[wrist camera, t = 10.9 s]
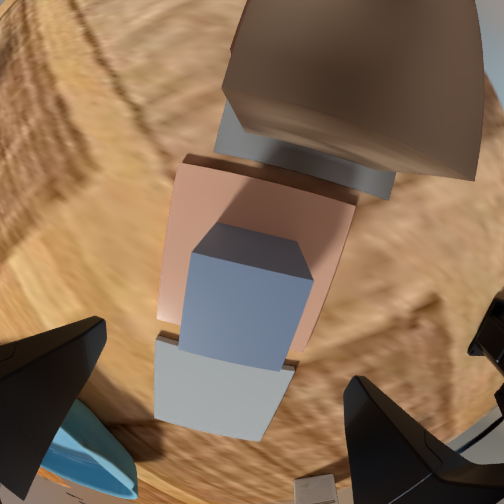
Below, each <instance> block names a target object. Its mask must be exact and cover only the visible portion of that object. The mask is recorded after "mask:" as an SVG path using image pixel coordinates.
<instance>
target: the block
mask: <svg viewBox="0 0 504 504" xmlns="http://www.w3.org/2000/svg"><path fill="white" fill-rule="evenodd" d="M313 283H314V279H313V277H312V275H311V272H310V270H309V268H308V265H307V263H306V261H305V258H304V256H303V254H302V252H301V249H300V247H299V245H298V242H297V241H294V240H290V239H285V238H281V237H277V236H273V235H269V234H265V233H261V232H256V231H252V230H248V229H244V228H240V227H235V226H231V225H227V224H222V223H218V222H216V223H215V224H214V225H213V227H212V228H211V229H210V230H209V231H208V233H207V234H206V235H205V236H204V237H203V239H202V240H201V241H200V242H199V243H198V245H197V246H196V247H195V248H194V250H193V251H192V252H191V257H190V263H189V270H188V276H187V283H186V290H185V297H184V304H183V311H182V319H181V327H180V336H179V345H178V350H182V351H185V352H189V353H193V354H197V355H201V356H205V357H209V358H213V359H217V360H221V361H226V362H230V363H235V364H240V365H245V366H250V367H255V368H260V369H266V370H271V371H277V372H280V370H281V368H282V365H283V363H284V361H285V358H286V356H287V353H288V351H289V348H290V346H291V343H292V340H293V338H294V335H295V333H296V330H297V327H298V325H299V322H300V319H301V317H302V314H303V311H304V308H305V306H306V303H307V300H308V297H309V294H310V291H311V289H312V286H313Z"/></svg>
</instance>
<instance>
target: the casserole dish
mask: <svg viewBox="0 0 504 504" xmlns="http://www.w3.org/2000/svg"><path fill="white" fill-rule="evenodd" d="M40 466H41V467H43V468H44V469H46V470H48V471H50V472H52V473H55V474H57V475H59V476H61V477H64V478H66V479H68V480H70V481H73V482H75V483H78V484H80V485H83V486H86V487H88V488H91V489H94V490H97V491H100V492H103V493H106V494H109V495H113V496H117V497H121V498H125V499H137V498H138V483H137V471H136V466H135V463H134V461H133V459H132V457H131V456H130V454H129V453H128V452H127V451H126V449H125V448H124V447H123V446H122V445H121V444H120V443H119V442H118V440H117V439H116V438H115V437H114V436H113V435H112V434H111V433H110V432H109V431H108V430H107V429H106V427H105V426H104V425H103V424H102V423H101V422H100V421H99V419H98V418H97V417H96V416H95V415H94V414H93V413H92V412H91V411H90V409H89V408H88V407H87V406H86V405H85V404H83V403H82V402H81V401H80V400H79V399H77V398H76V400H75V402H74V403H73V405H72V407H71V408H70V410H69V412H68V414H67V415H66V417H65V419H64V421H63V423H62V424H61V426H60V428H59V430H58V432H57V434H56V435H55V437H54V439H53V441H52V443H51V445H50V447H49V449H48V451H47V453H46V455H45V457H44V459H43V461H42V463H41V465H40Z"/></svg>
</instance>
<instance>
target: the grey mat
mask: <svg viewBox="0 0 504 504" xmlns="http://www.w3.org/2000/svg"><path fill="white" fill-rule="evenodd" d="M178 345H179V341H175V340H172V339H168V338H165V337H162V336H157V338H156V339H155V362H154V418H156V419H159V420H162V421H165V422H169V423H172V424H176V425H179V426H183V427H187V428H191V429H195V430H199V431H203V432H208V433H212V434H217V435H222V436H227V437H233V438H238V439H245V440H251V441H259V442H260V440H261V438H262V436H263V434H264V432H265V431H266V429H267V427H268V425H269V423H270V421H271V419H272V417H273V415H274V413H275V411H276V409H277V407H278V405H279V403H280V401H281V399H282V397H283V395H284V393H285V391H286V389H287V387H288V385H289V383H290V381H291V379H292V376H293V374H294V372H295V369H294V366H288V365H282V368H281V370H280V372H277V371H271V370H266V369H260V368H255V367H250V366H245V365H240V364H235V363H230V362H226V361H221V360H217V359H213V358H209V357H205V356H201V355H197V354H193V353H189V352H185V351H182V350H178Z"/></svg>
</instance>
